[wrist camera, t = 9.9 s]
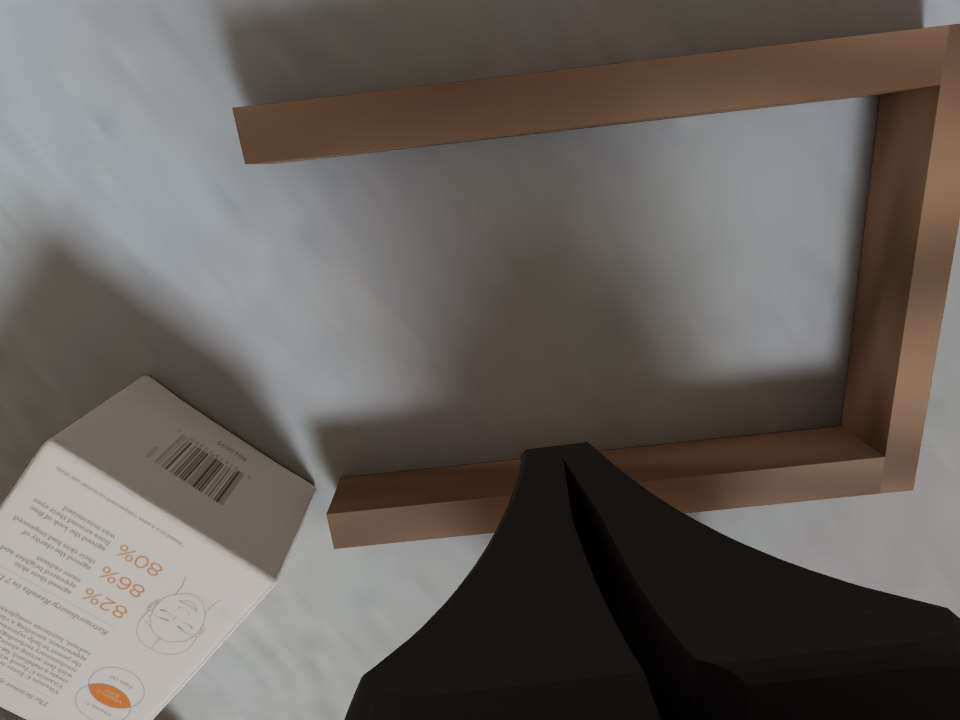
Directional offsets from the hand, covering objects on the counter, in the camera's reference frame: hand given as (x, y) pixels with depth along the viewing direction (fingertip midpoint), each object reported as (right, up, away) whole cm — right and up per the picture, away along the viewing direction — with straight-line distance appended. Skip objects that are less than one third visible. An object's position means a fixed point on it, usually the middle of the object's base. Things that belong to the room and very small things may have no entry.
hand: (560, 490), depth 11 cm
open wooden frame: (+2, +5, +9) cm, 11 cm away
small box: (-11, -1, +8) cm, 14 cm away
